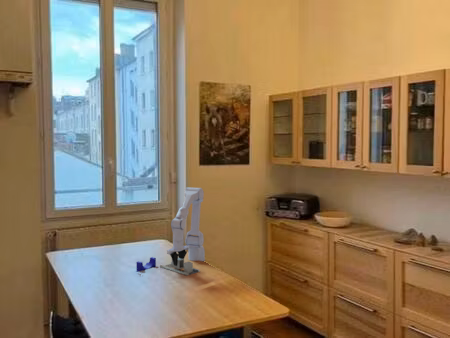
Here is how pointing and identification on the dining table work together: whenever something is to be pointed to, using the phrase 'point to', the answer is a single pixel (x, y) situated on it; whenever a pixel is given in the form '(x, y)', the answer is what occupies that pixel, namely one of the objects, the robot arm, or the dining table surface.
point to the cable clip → (148, 265)
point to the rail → (180, 271)
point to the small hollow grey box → (188, 267)
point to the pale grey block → (179, 264)
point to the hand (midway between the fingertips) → (178, 264)
